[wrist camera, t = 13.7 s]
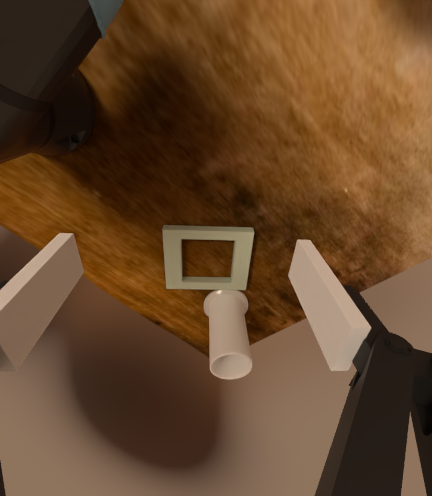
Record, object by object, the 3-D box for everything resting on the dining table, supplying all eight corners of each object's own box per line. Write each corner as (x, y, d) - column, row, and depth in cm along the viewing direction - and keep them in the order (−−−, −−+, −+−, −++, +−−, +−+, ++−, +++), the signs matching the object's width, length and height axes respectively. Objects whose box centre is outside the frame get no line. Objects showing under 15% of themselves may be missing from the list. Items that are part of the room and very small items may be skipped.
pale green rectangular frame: (167, 283, 58) (166, 288, 56) (163, 224, 50) (162, 229, 48) (244, 284, 59) (245, 290, 57) (252, 227, 51) (254, 232, 49)
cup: (247, 311, 63) (258, 372, 49) (217, 322, 64) (220, 383, 51) (234, 289, 59) (243, 348, 45) (203, 301, 60) (202, 361, 47)
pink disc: (203, 319, 65) (203, 322, 64) (204, 286, 59) (204, 289, 58) (245, 320, 65) (245, 322, 65) (250, 287, 60) (250, 289, 59)
